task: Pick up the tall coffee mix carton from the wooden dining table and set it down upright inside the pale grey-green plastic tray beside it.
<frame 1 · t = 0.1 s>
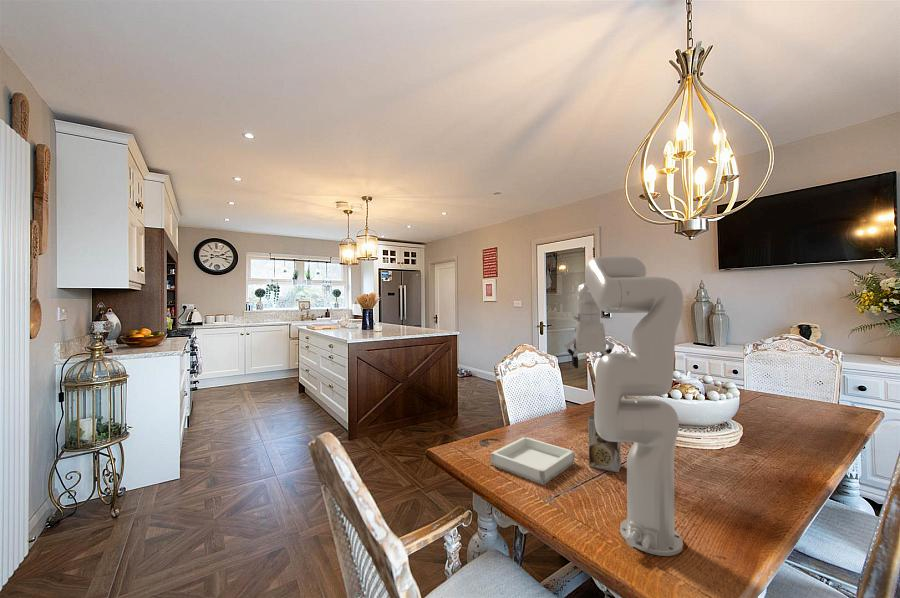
hand: (589, 367, 129), 31 cm above the table, tool pointing down, fingers open, 9 cm apart
caliper: (614, 436, 148), on the table
tray: (532, 464, 123), on the table
coffee box: (604, 466, 121), on the table
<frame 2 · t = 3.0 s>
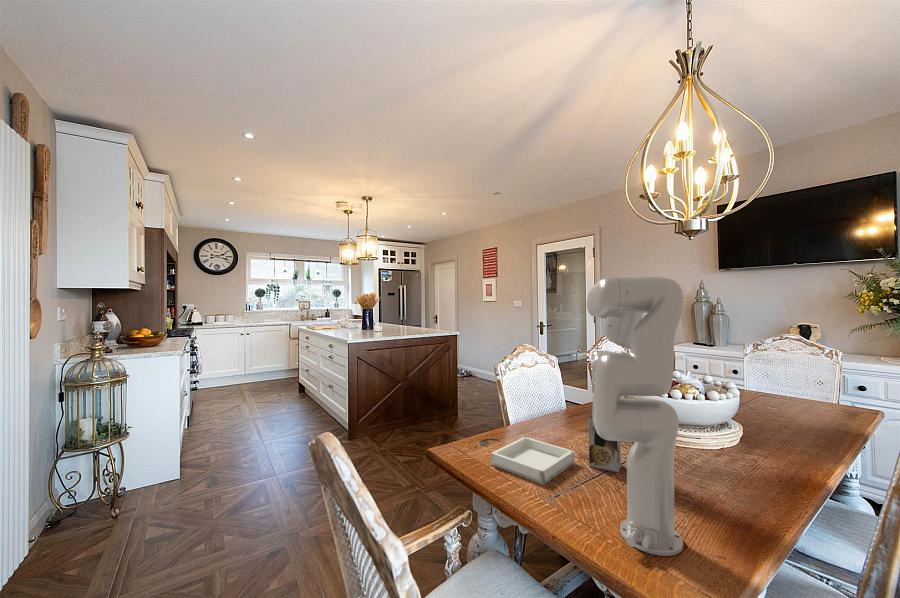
hand: (604, 442, 121), 8 cm above the table, tool pointing down, fingers closed on coffee box, 7 cm apart
coffee box: (604, 466, 121), on the table, touching gripper
everything else where it was.
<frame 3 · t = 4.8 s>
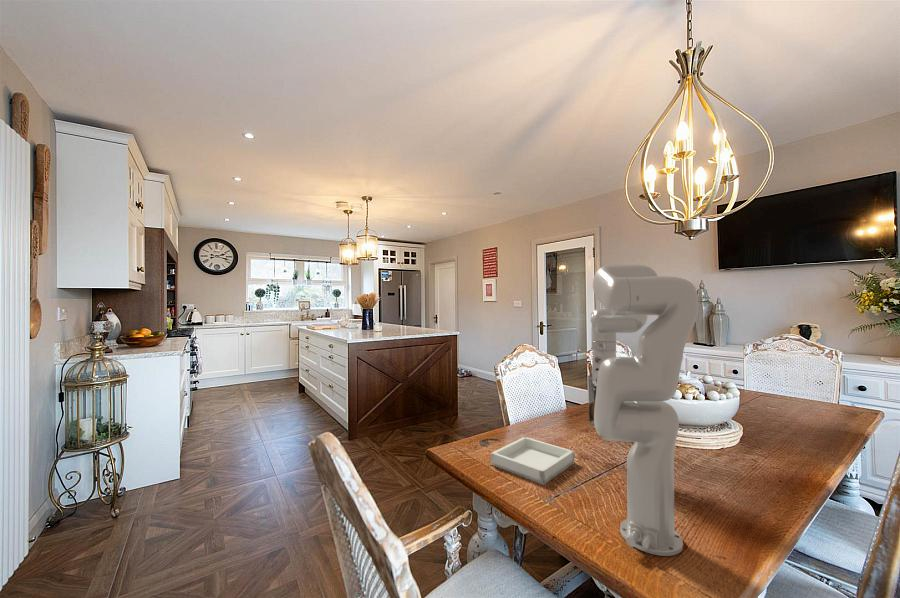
hand: (604, 400, 121), 22 cm above the table, tool pointing down, fingers closed on coffee box, 7 cm apart
coffee box: (604, 425, 120), point 14 cm above the table, touching gripper
everything else where it was.
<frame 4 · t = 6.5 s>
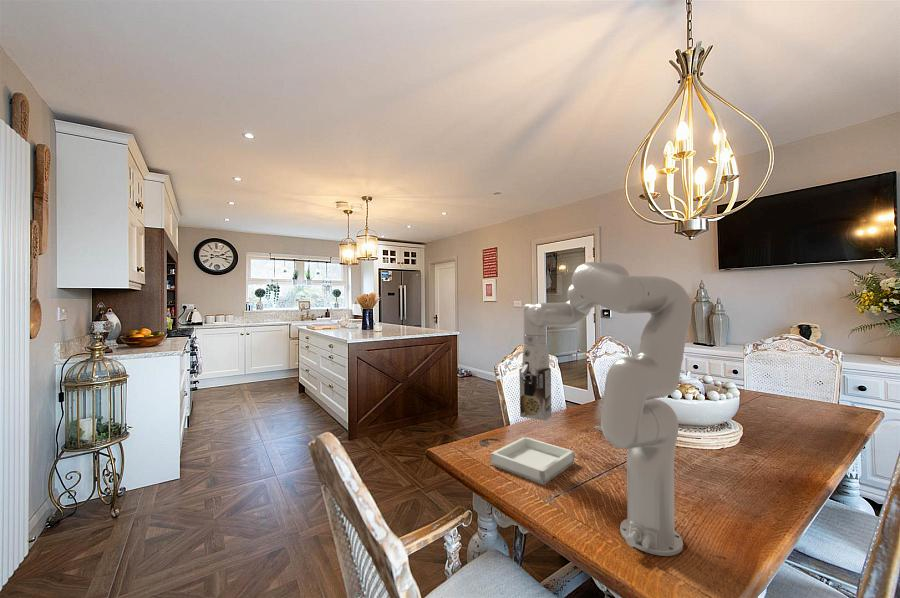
hand: (535, 392, 123), 24 cm above the table, tool pointing down, fingers closed on coffee box, 7 cm apart
coffee box: (535, 417, 123), point 16 cm above the table, touching gripper
everything else where it was.
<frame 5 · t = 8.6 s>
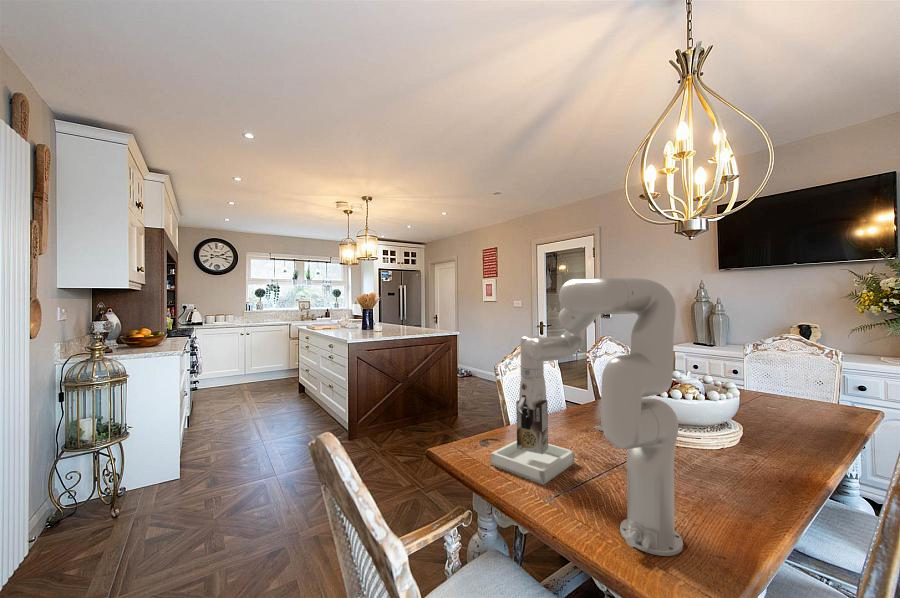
hand: (532, 425, 123), 13 cm above the table, tool pointing down, fingers closed on coffee box, 7 cm apart
coffee box: (532, 449, 123), point 5 cm above the table, touching gripper
everything else where it was.
when the fingers open (10 cm above the table, at t = 10.2 s): coffee box drops 1 cm, resting on tray.
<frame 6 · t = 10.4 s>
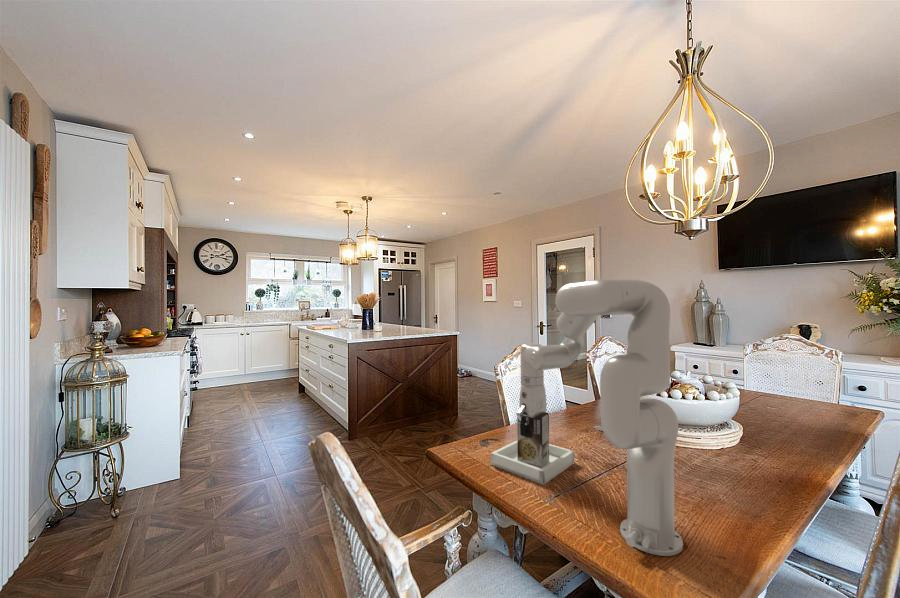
hand: (532, 432, 123), 11 cm above the table, tool pointing down, fingers open, 8 cm apart
coffee box: (533, 461, 122), point 1 cm above the table, touching tray
everything else where it was.
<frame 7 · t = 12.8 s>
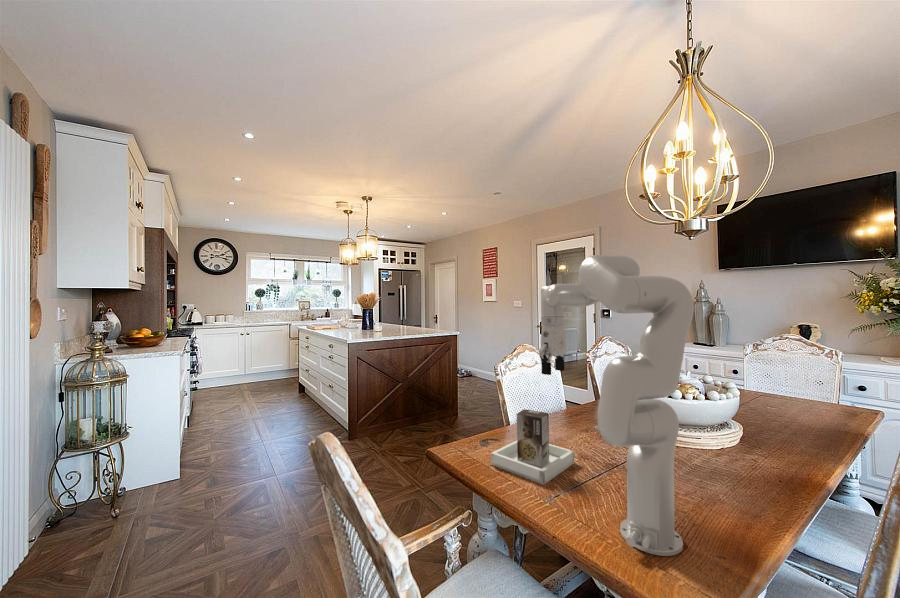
hand: (553, 372, 124), 30 cm above the table, tool pointing down, fingers open, 9 cm apart
nothing on the table moved.
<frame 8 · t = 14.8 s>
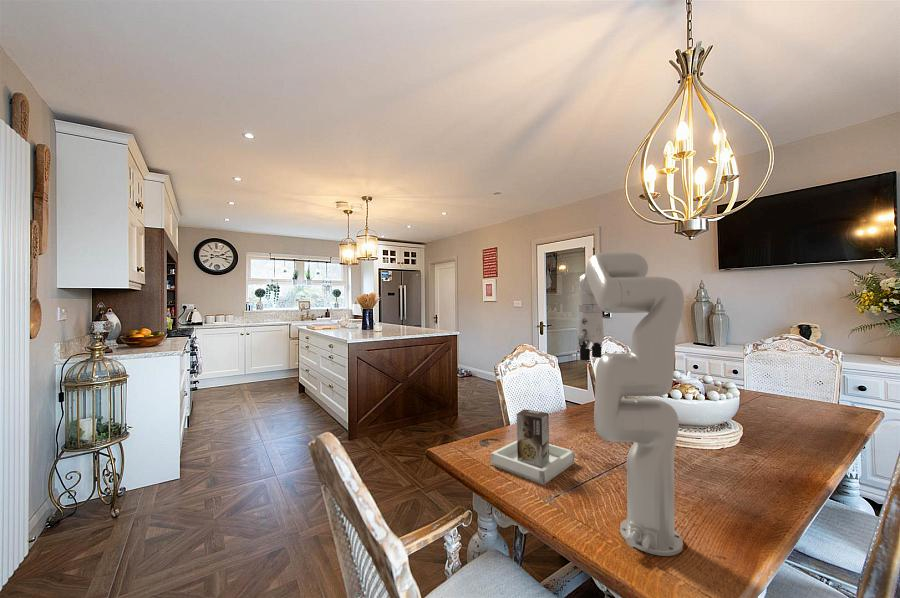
hand: (591, 358, 128), 34 cm above the table, tool pointing down, fingers open, 9 cm apart
nothing on the table moved.
at the end: coffee box inside the target area on the tray (0.2 cm from its centre), point 0.8 cm above the tray's base; coffee box tilted 0°; the gripper is holding nothing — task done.
